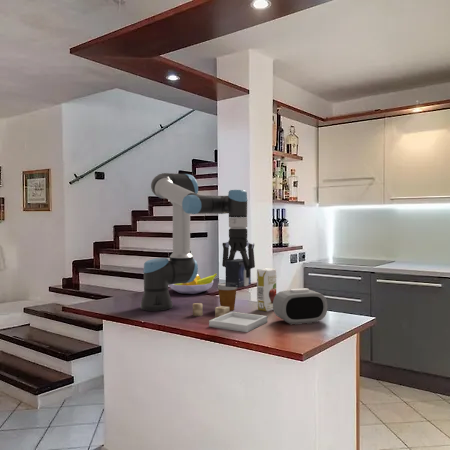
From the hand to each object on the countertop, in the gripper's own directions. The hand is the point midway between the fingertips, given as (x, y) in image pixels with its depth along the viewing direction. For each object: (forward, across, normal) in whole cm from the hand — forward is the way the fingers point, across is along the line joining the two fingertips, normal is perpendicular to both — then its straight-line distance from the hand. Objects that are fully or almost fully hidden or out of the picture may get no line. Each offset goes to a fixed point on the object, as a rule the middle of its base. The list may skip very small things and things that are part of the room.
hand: (238, 284), depth 178 cm
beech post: (+16, -24, +6) cm, 29 cm away
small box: (+1, 0, 0) cm, 1 cm away
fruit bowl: (+16, -59, +52) cm, 81 cm away
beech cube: (+16, -12, +7) cm, 21 cm away
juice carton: (+16, -2, +30) cm, 35 cm away
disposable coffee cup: (+16, -18, +22) cm, 32 cm away
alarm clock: (+16, +20, +16) cm, 31 cm away
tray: (+16, 0, 0) cm, 16 cm away
